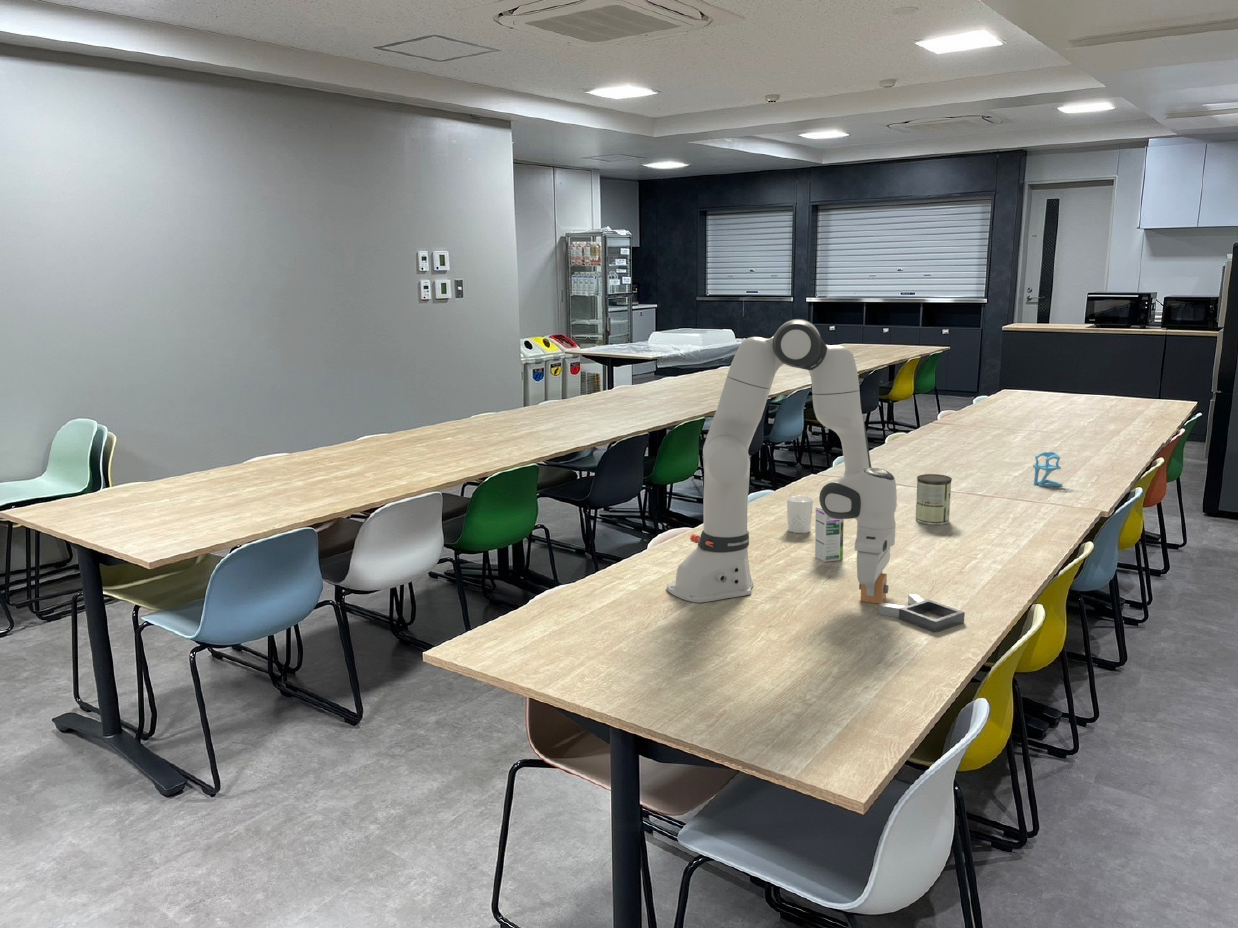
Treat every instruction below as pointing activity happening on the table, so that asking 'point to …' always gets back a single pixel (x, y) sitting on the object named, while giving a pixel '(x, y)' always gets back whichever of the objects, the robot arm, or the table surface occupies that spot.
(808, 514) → the white cup
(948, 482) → the coffee can
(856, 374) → the robot arm
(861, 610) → the table surface
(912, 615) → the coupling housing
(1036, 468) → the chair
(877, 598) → the block
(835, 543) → the syrup box
